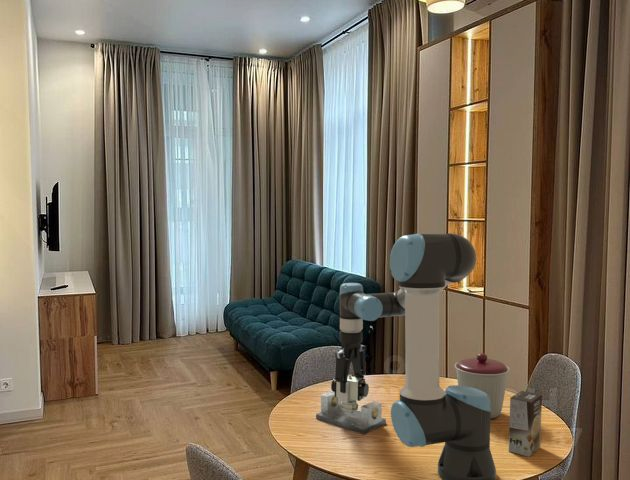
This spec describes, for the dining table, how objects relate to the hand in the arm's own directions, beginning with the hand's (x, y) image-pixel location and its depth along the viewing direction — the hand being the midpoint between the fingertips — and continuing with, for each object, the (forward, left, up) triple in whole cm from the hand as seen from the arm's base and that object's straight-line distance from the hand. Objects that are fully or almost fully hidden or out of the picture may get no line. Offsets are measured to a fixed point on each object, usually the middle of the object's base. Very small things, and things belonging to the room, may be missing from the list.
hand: (350, 399), depth 198 cm
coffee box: (-52, -17, -8) cm, 55 cm away
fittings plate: (0, 0, -7) cm, 7 cm away
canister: (-29, -35, -8) cm, 46 cm away
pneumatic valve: (0, 0, -4) cm, 4 cm away
